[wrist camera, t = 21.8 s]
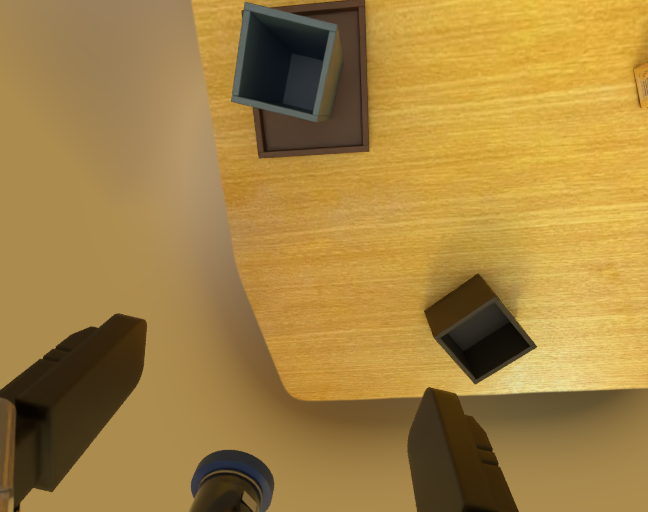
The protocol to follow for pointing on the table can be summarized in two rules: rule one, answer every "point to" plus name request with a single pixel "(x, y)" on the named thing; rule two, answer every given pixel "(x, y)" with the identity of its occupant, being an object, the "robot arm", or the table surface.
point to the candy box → (642, 84)
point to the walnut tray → (351, 100)
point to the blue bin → (287, 64)
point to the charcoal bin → (477, 330)
